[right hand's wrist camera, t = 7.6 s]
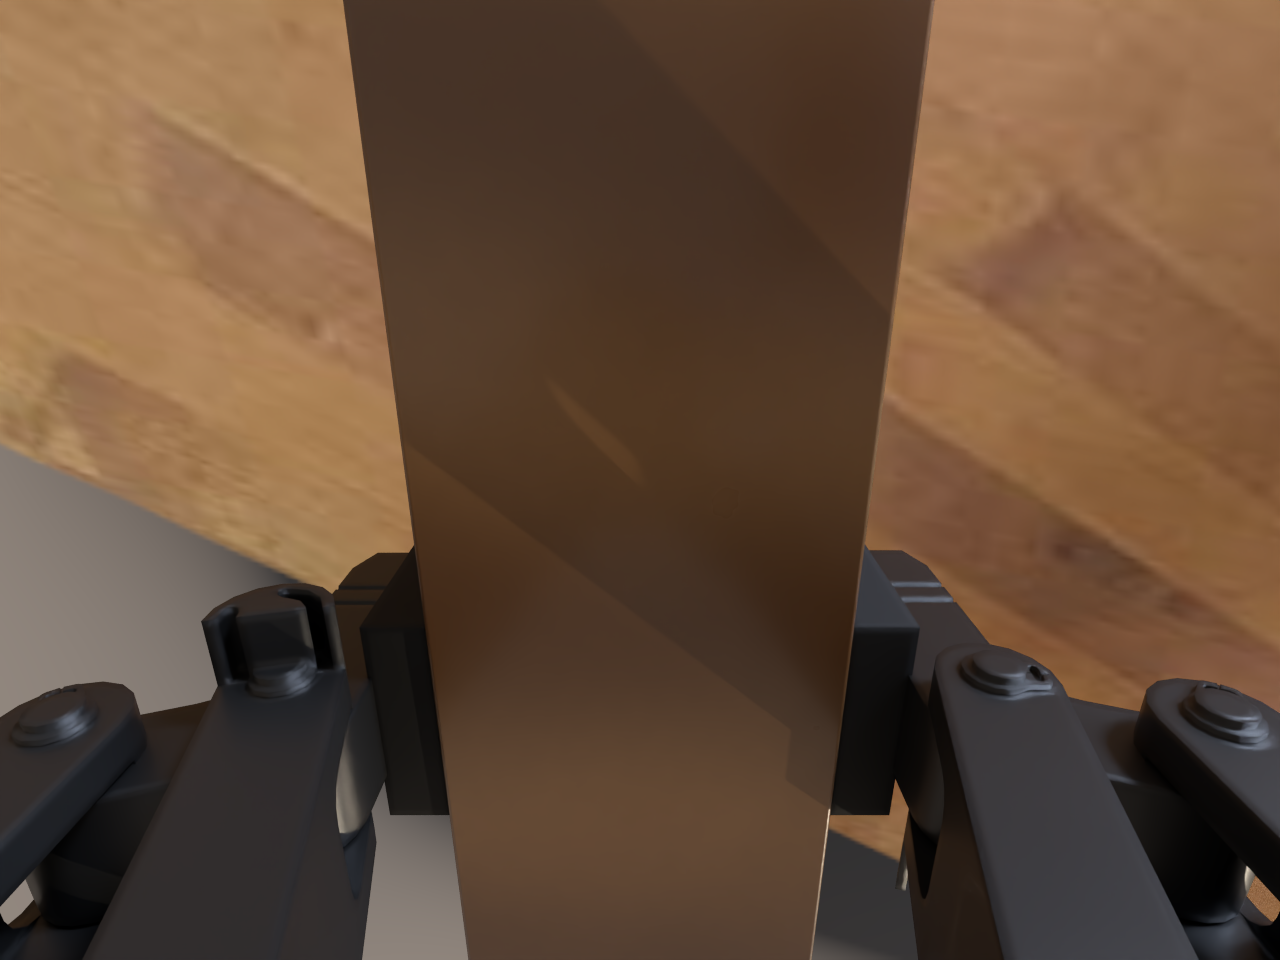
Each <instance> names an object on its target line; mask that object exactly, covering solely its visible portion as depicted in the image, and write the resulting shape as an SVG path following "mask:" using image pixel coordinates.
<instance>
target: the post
mask: <svg viewBox="0 0 1280 960" xmlns="http://www.w3.org/2000/svg"><path fill="white" fill-rule="evenodd" d="M934 2H935V0H343V4H344V11H345V19H346V27H347V34H348V42H349V50H350V57H351V65H352V72H353V80H354V88H355V95H356V103H357V111H358V118H359V126H360V134H361V141H362V149H363V157H364V164H365V172H366V179H367V187H368V195H369V202H370V210H371V218H372V225H373V233H374V241H375V248H376V256H377V264H378V271H379V279H380V287H381V294H382V302H383V309H384V317H385V325H386V332H387V340H388V348H389V355H390V363H391V371H392V378H393V386H394V394H395V401H396V409H397V416H398V424H399V432H400V439H401V447H402V455H403V462H404V470H405V478H406V485H407V493H408V501H409V508H410V516H411V524H412V531H413V539H414V546H415V554H416V562H417V569H418V577H419V585H420V592H421V600H422V608H423V615H424V623H425V631H426V638H427V646H428V653H429V661H430V669H431V676H432V684H433V692H434V699H435V707H436V715H437V722H438V730H439V738H440V745H441V753H442V761H443V768H444V776H445V783H446V791H447V799H448V806H449V814H450V822H451V829H452V837H453V844H454V852H455V860H456V868H457V875H458V883H459V890H460V898H461V906H462V913H463V921H464V929H465V936H466V944H467V952H468V959H469V960H811V959H812V952H813V944H814V936H815V928H816V920H817V913H818V905H819V897H820V889H821V882H822V874H823V866H824V858H825V850H826V842H827V835H828V827H829V819H830V812H831V804H832V796H833V788H834V780H835V773H836V765H837V757H838V749H839V741H840V734H841V726H842V718H843V710H844V702H845V695H846V687H847V679H848V671H849V664H850V656H851V648H852V640H853V632H854V625H855V617H856V609H857V601H858V593H859V586H860V578H861V570H862V562H863V555H864V547H865V539H866V531H867V523H868V516H869V508H870V500H871V492H872V484H873V477H874V469H875V461H876V453H877V445H878V438H879V430H880V422H881V414H882V407H883V399H884V391H885V383H886V375H887V368H888V360H889V352H890V344H891V336H892V329H893V321H894V313H895V305H896V298H897V290H898V282H899V274H900V266H901V259H902V251H903V243H904V235H905V227H906V220H907V212H908V204H909V196H910V188H911V181H912V173H913V165H914V157H915V150H916V142H917V134H918V126H919V118H920V111H921V103H922V95H923V87H924V79H925V72H926V64H927V56H928V48H929V41H930V33H931V25H932V17H933V9H934Z"/></svg>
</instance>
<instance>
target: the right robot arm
mask: <svg viewBox="0 0 1280 960" xmlns="http://www.w3.org/2000/svg"><path fill="white" fill-rule="evenodd" d="M201 622H202V626H203V630H204V634H205V638H206V642H207V646H208V650H209V653H210V657H211V661H212V665H213V669H214V673H215V677H216V681H217V684H218V687H217V689H216V691H215V693H214V695H213V697H212V699H211V700H210V701H206V702H202V703H198V704H194V705H188V706H183V707H178V708H173V709H168V710H163V711H158V712H153V713H148V714H143V715H140V712H139V709H138V705H137V702H136V699H135V696H134V693H133V692H132V691H131V690H129V689H128V688H127V687H125V686H124V685H123V684H116V683H109V682H95V683H86V684H75V685H70V686H66V687H64V688H63V689H60V688H58V689H55V690H52V691H49V692H46V693H44V694H42V695H40V696H39V697H37V698H35V699H32V700H30V701H28V702H26V703H23V704H21V705H19V706H17V707H16V708H14V709H13V710H11V711H9V712H8V713H6V714H5V715H3V716H2V717H0V906H1V905H2V904H3V903H4V902H5V901H6V900H7V899H8V898H9V896H10V895H11V894H12V893H13V892H14V891H15V890H16V889H17V888H18V887H19V885H20V884H21V883H22V882H23V881H24V880H25V879H26V882H27V884H28V886H29V889H30V891H31V893H32V896H33V898H34V900H33V901H32V902H31V903H30V905H29V906H28V907H27V908H26V909H25V910H24V911H23V913H22V914H21V915H19V916H18V917H17V918H16V919H14V920H13V921H12V922H11V923H10V924H6V923H5V922H4V921H3V918H2V916H1V914H0V960H362V955H363V946H364V939H365V930H366V922H367V914H368V906H369V898H370V890H371V882H372V874H373V866H374V857H375V850H376V836H375V829H374V823H373V817H372V812H371V810H372V808H373V806H374V804H375V801H376V799H377V797H378V795H379V792H380V790H381V788H382V786H383V783H384V781H385V786H386V792H387V798H388V804H389V811H390V815H450V814H449V806H448V799H447V791H446V783H445V776H444V768H443V761H442V753H441V745H440V738H439V730H438V722H437V715H436V707H435V699H434V692H433V684H432V676H431V669H430V661H429V653H428V646H427V638H426V631H425V623H424V615H423V608H422V600H421V592H420V585H419V577H418V569H417V562H416V554H415V546H413V547H412V549H411V550H410V552H409V553H377V554H375V555H374V556H372V557H370V558H369V559H367V560H365V561H364V562H362V563H361V564H359V565H357V566H356V567H354V568H353V569H352V570H351V571H350V572H349V574H348V575H347V576H346V577H345V579H344V580H343V581H342V582H341V584H340V585H339V589H338V590H335V591H334V593H333V594H331V593H330V592H328V591H327V590H326V589H324V588H323V587H319V586H315V585H310V584H305V583H302V584H279V585H274V586H269V587H264V588H258V589H255V590H252V591H250V592H247V593H244V594H241V595H238V596H235V597H233V598H231V599H230V600H228V601H226V602H224V603H222V604H221V605H219V606H217V607H215V608H214V609H213V610H212V611H211V612H210V613H209V614H208V615H207V616H206V617H205V618H204V619H203V620H202V621H201ZM895 779H896V781H897V783H898V786H899V788H900V790H901V792H902V795H903V797H904V799H905V801H906V803H907V806H908V808H909V812H908V817H907V823H906V828H905V834H904V840H903V845H902V851H901V857H900V862H899V868H898V874H897V881H896V887H895V888H896V889H900V890H905V888H906V882H907V877H908V880H909V888H910V896H911V904H912V912H913V920H914V929H915V937H916V944H917V953H918V960H1280V912H1279V914H1278V916H1277V918H1276V919H1275V921H1274V922H1272V921H1270V920H1269V919H1268V918H1267V917H1266V916H1265V915H1263V914H1262V913H1261V912H1260V911H1259V910H1258V909H1257V908H1256V907H1255V905H1254V904H1253V903H1252V902H1251V901H1250V900H1249V899H1248V897H1247V894H1248V891H1249V889H1250V887H1251V884H1252V882H1253V880H1254V877H1255V875H1256V876H1257V877H1258V879H1259V880H1260V881H1261V882H1262V883H1263V884H1264V885H1265V886H1266V887H1267V888H1268V889H1269V890H1270V892H1271V893H1272V894H1273V895H1274V896H1275V897H1276V898H1277V899H1278V900H1279V901H1280V713H1278V712H1277V711H1275V710H1274V709H1272V708H1270V707H1269V706H1267V705H1266V704H1264V703H1263V702H1261V701H1258V700H1256V699H1254V698H1251V697H1249V696H1247V695H1245V694H1242V693H1241V692H1239V691H1238V690H1236V689H1233V688H1230V687H1227V686H1224V685H1221V684H1220V686H1219V685H1217V683H1212V682H1208V681H1198V680H1189V679H1179V678H1175V679H1168V680H1161V681H1157V682H1156V683H1154V684H1153V685H1152V686H1150V687H1149V688H1148V689H1147V690H1146V693H1145V697H1144V700H1143V703H1142V706H1141V709H1140V712H1139V711H1133V710H1128V709H1123V708H1118V707H1113V706H1108V705H1103V704H1098V703H1092V702H1087V701H1083V700H1079V699H1075V698H1071V697H1068V696H1067V694H1066V692H1065V689H1064V687H1063V685H1062V684H1061V683H1060V682H1059V680H1058V679H1057V678H1056V677H1055V676H1054V674H1053V673H1052V672H1051V671H1050V670H1049V669H1047V668H1046V667H1044V666H1043V665H1041V664H1040V663H1038V662H1037V661H1035V660H1034V659H1032V658H1030V657H1028V656H1025V655H1023V654H1021V653H1018V652H1016V651H1013V650H1011V649H1008V648H1004V647H999V646H994V645H990V644H989V643H988V641H987V640H986V639H985V638H984V636H983V635H982V634H981V633H980V631H979V630H978V629H977V628H976V626H975V625H974V624H973V623H972V621H971V620H970V619H969V618H968V616H967V615H966V614H965V613H964V611H963V610H962V609H961V608H960V606H959V605H958V604H957V603H956V602H953V598H952V596H951V595H950V594H949V593H948V591H947V590H946V589H945V588H944V587H941V583H940V581H939V580H938V579H937V578H936V576H935V575H934V574H933V573H932V571H931V570H930V569H929V568H928V566H926V565H925V564H923V563H922V562H920V561H918V560H917V559H915V558H913V557H912V556H910V555H908V554H907V553H905V552H903V551H902V550H868V548H867V547H866V545H865V547H864V555H863V562H862V570H861V578H860V586H859V593H858V601H857V609H856V617H855V625H854V632H853V640H852V648H851V656H850V664H849V671H848V679H847V687H846V695H845V702H844V710H843V718H842V726H841V734H840V741H839V749H838V757H837V765H836V773H835V780H834V788H833V796H832V804H831V812H830V815H889V813H890V807H891V801H892V795H893V789H894V783H895Z"/></svg>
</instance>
